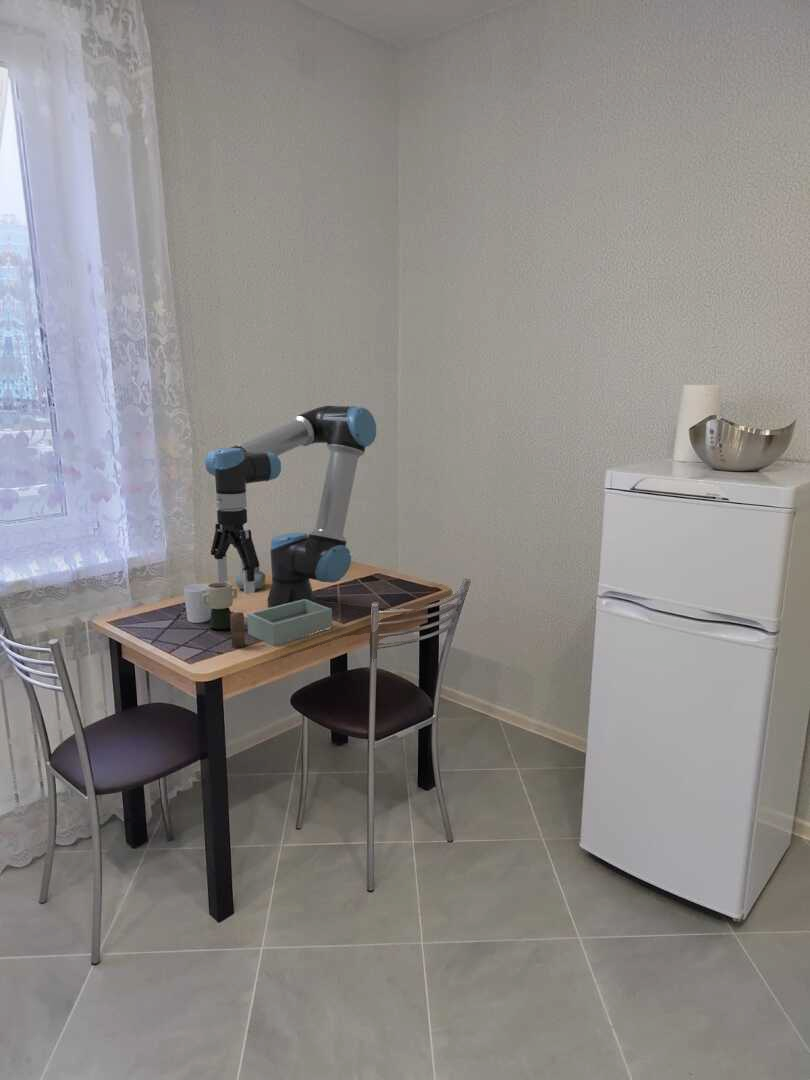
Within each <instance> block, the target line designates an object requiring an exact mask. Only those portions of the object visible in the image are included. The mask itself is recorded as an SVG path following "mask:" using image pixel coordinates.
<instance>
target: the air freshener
mask: <svg viewBox="0 0 810 1080" xmlns="http://www.w3.org/2000/svg"><path fill="white" fill-rule="evenodd" d="M258 561H259V562H260V560H259V559H258ZM240 563H241V572H239V573H238V574H237V576H236V579H235V583H236V586H237V587H238V588H239V589H241V590H243V591H244V578H243V568H244V564H243V562H242V560H241V562H240ZM254 563H255V562H254ZM254 578H255V579H254V584H255V591H257V590H258V591H259V590H260V589H261V588H263V587H264V586H265V584H266V573H264V572H263V571H261V570H260V566H259V567H257V568H255V569H254Z"/></svg>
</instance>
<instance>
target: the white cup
mask: <svg viewBox="0 0 810 1080" xmlns="http://www.w3.org/2000/svg"><path fill="white" fill-rule="evenodd" d="M208 584H209V583H193V584H188V585H187V586H184V587H183V595H184V596H183V597H184V603H185V604H184V605H185V611H186V616H187V617H186V618H187V621H188V622H189V623H194V624H195V623H197V624H200V623H205V622H208V621H210V620H211V611H212V608H210V607H209V606H208V604H207V605H203V603H202V595H203V594H206V593H207V585H208ZM205 598H206V601H207V597H205Z"/></svg>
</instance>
